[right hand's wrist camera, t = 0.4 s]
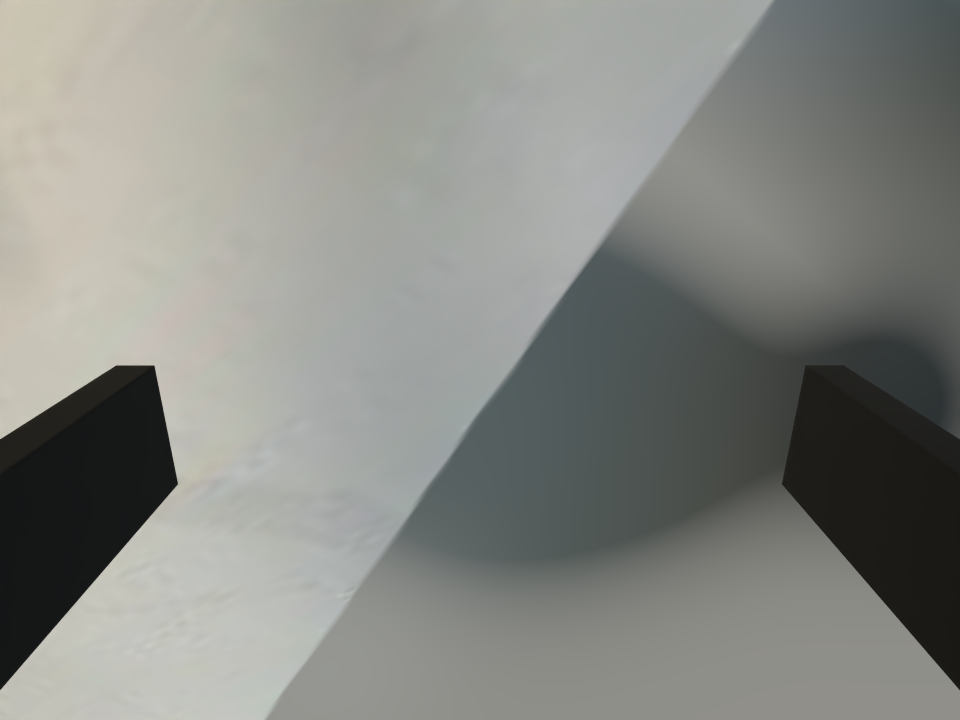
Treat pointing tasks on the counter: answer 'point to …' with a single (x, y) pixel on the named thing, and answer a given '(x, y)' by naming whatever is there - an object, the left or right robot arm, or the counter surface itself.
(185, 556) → the counter surface
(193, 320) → the counter surface
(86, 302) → the counter surface
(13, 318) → the counter surface
